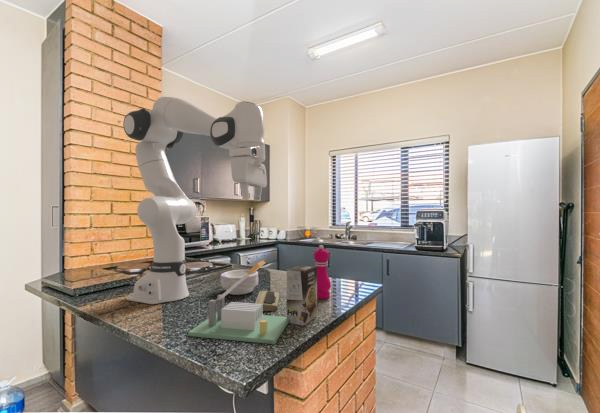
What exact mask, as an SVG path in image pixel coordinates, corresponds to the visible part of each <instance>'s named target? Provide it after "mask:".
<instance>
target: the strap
mask: <svg viewBox="0 0 600 413" xmlns="http://www.w3.org/2000/svg"><path fill="white" fill-rule="evenodd" d="M264 265H266V262H265V260H261V261H259V262H257V263H255V264H254V265H253V267H251V268H250V269H248V270H249V271H248V272H247V274H246V275H244V276H243V277H242V278H241V279H240V280H239V281H237V282H236V283H235V284H234V285H233V286H232V287H230V288H229V289H228V290H227V291H226V290H225V292H223V293H222V294H220V295H221V296H220V297H219V298H216V299H215V300H216V305H217V303H219V302H220V301H221V300H222V299H223V298H224V297H226V296H228V295H230V294H229V293H230V292H231V291H232V290H233V289H234V288H236V287H237V286H238V285H239V284H240V283H241V282H243V281H244V280H245V279H246V278H247V277H248V276H250V275H251V274H252V273H254V272H255V271H257V272H258V270H259V269H260V268H261V267H262V266H264Z"/></svg>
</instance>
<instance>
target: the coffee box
mask: <svg viewBox="0 0 600 413" xmlns="http://www.w3.org/2000/svg"><path fill="white" fill-rule="evenodd" d="M286 317H287V319H289V323H290V324H293V325H299V326H303V325H305V326H306V325H307V324H309V323H310V322H312V321H313V320H314V319H315V318H317V317H318V298H317V267H316V265H297V266H294V267H291V268H288V269H286ZM289 323H288V324H289Z"/></svg>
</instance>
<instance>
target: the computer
mask: <svg viewBox="0 0 600 413" xmlns="http://www.w3.org/2000/svg"><path fill="white" fill-rule="evenodd" d="M280 295H281V294H280V292H278V291H270V290H259V292H258V294H257V297H256V300H255V302H254V304H263V312H278V309H279V302H280Z"/></svg>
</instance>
